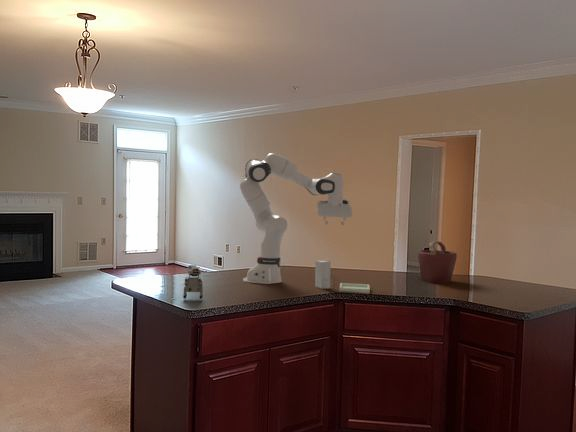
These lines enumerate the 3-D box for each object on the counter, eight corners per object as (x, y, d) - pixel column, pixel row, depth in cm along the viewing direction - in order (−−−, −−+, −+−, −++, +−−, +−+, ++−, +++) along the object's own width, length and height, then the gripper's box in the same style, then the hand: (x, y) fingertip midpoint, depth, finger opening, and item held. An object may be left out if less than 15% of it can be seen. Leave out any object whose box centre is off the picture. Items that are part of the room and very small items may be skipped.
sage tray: (339, 291, 282) (339, 287, 281) (340, 286, 297) (340, 282, 297) (369, 293, 280) (369, 289, 279) (368, 288, 295) (369, 284, 295)
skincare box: (330, 288, 291) (331, 261, 290) (320, 289, 289) (321, 261, 288) (323, 286, 299) (324, 259, 298) (314, 286, 296) (315, 259, 296)
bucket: (439, 286, 311) (441, 243, 310) (407, 280, 328) (409, 240, 327) (461, 282, 327) (463, 242, 326) (430, 277, 344) (432, 239, 343)
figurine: (203, 295, 261) (204, 264, 260) (201, 299, 249) (202, 268, 249) (185, 294, 260) (186, 264, 260) (182, 299, 249) (183, 267, 248)
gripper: (317, 200, 307) (316, 224, 308) (352, 201, 305) (351, 225, 305) (317, 200, 313) (316, 223, 314) (352, 201, 311) (351, 225, 311)
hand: (334, 224), depth 309 cm, fingers open, 8 cm apart
